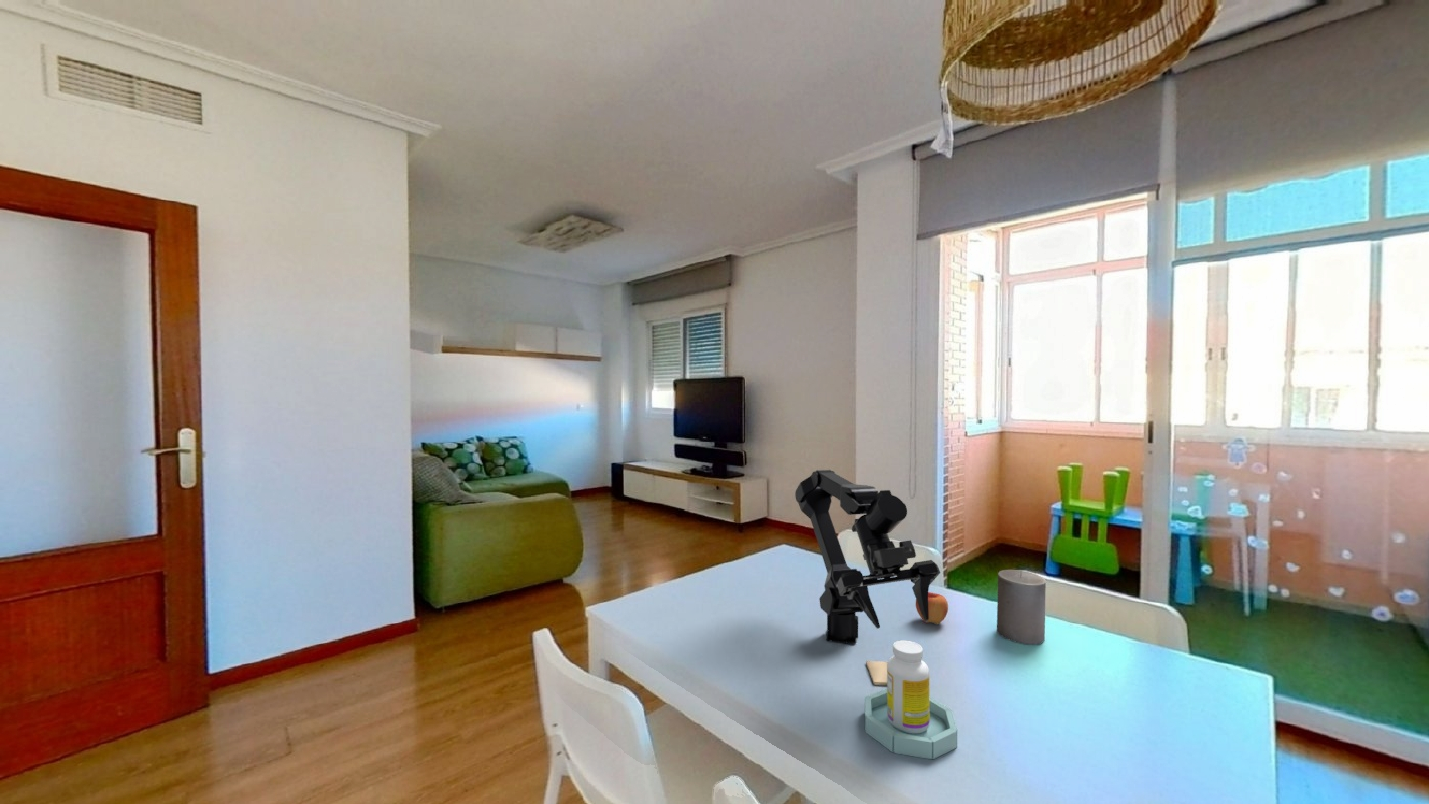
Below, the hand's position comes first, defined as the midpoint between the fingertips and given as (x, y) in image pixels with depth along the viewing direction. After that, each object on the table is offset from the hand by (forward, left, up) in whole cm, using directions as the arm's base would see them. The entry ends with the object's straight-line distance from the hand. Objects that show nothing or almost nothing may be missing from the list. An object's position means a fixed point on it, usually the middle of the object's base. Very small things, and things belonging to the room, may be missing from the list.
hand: (902, 624), depth 97 cm
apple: (+9, +36, -14) cm, 39 cm away
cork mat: (-1, +8, -14) cm, 16 cm away
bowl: (0, -9, -14) cm, 16 cm away
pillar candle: (+28, +34, -14) cm, 46 cm away
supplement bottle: (0, -9, -13) cm, 16 cm away
